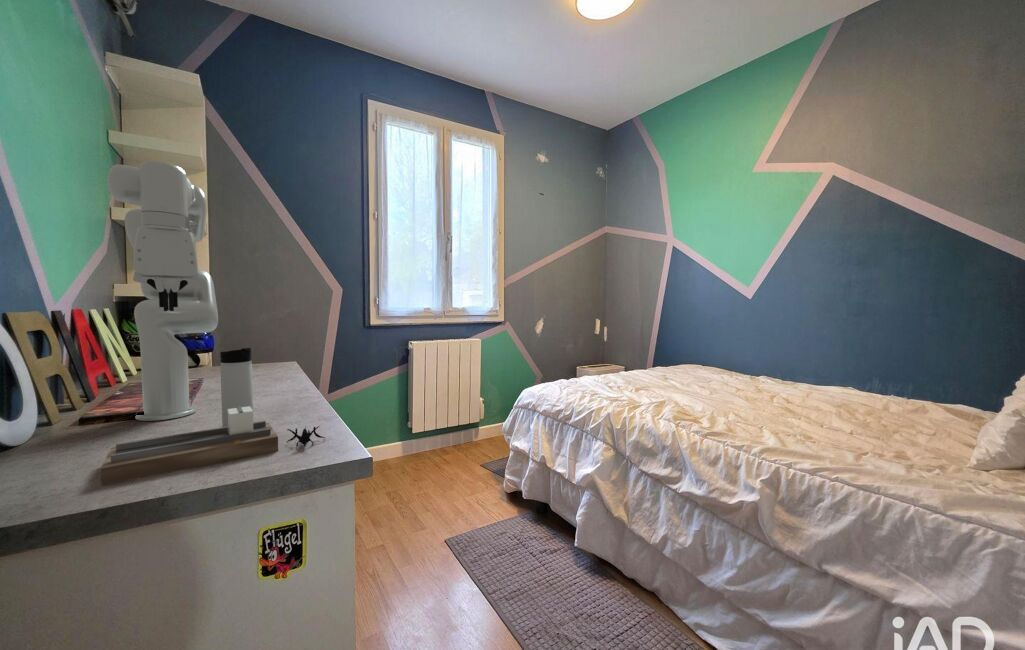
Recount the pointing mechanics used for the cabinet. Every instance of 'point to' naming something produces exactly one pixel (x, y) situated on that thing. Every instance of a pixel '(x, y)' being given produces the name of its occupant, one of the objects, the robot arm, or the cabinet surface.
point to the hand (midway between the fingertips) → (168, 310)
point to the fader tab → (240, 420)
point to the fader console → (184, 452)
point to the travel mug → (236, 381)
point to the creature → (304, 436)
